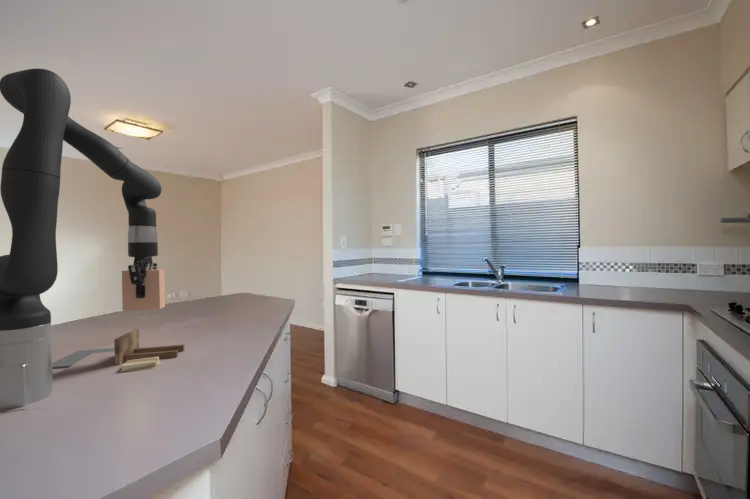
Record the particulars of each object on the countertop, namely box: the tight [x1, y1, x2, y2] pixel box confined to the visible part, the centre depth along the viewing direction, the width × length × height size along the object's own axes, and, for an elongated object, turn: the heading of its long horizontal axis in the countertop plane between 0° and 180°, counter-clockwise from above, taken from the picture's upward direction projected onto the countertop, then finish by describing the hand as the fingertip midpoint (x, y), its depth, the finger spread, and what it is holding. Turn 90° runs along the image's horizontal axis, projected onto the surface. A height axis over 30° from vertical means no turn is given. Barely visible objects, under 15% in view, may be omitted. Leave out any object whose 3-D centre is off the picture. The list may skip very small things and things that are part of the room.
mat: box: [52, 347, 115, 370], centre depth 103 cm, size 16×16×1 cm
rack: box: [113, 328, 185, 366], centre depth 102 cm, size 12×15×8 cm
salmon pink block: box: [121, 268, 166, 312], centre depth 102 cm, size 4×10×12 cm, turn 103°
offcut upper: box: [121, 357, 160, 372], centre depth 92 cm, size 5×8×2 cm, turn 112°
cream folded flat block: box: [119, 361, 162, 372], centre depth 92 cm, size 5×8×2 cm, turn 104°
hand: (144, 296), depth 102 cm, fingers closed on salmon pink block, 4 cm apart
